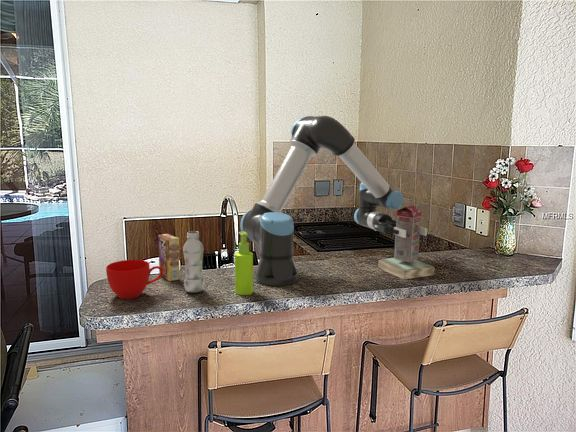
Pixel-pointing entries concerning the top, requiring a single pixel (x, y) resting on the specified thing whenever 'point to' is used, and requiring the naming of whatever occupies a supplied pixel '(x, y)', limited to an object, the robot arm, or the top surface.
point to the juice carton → (408, 233)
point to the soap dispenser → (243, 268)
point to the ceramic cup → (130, 277)
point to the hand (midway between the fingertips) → (415, 233)
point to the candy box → (169, 257)
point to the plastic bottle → (193, 263)
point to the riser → (406, 268)
